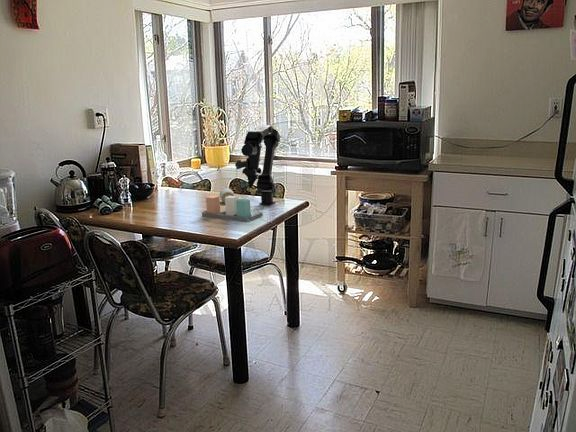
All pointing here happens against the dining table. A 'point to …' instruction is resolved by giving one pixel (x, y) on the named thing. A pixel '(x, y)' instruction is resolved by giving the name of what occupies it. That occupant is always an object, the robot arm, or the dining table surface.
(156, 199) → the dining table surface
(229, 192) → the ceramic mug
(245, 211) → the teal block
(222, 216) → the grey tray
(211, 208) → the pink upright block
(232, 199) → the white rectangular block
